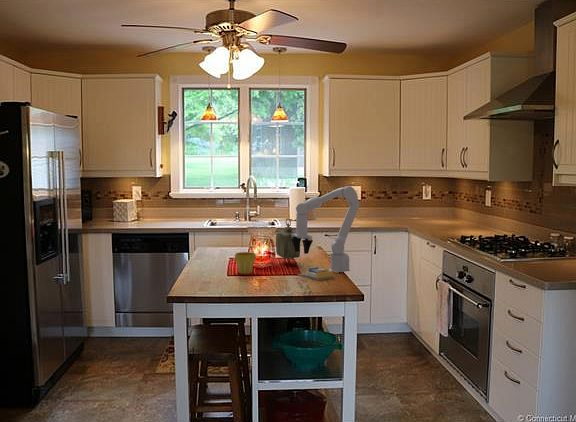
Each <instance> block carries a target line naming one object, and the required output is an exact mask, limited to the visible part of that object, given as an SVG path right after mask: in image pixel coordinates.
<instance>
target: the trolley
mask: <svg viewBox="0 0 576 422" xmlns="http://www.w3.org/2000/svg"><path fill="white" fill-rule="evenodd" d="M306 269H307V271H308V272H314V273H316V274H317V273H320V272H326V271H328V269H329V268H319V266H318V265H316V266H310V267H309V266H308V267H307V268H306ZM307 271H306V272H307Z"/></svg>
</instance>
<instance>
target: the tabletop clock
mask: <svg viewBox="0 0 576 422" xmlns="http://www.w3.org/2000/svg"><path fill="white" fill-rule="evenodd" d="M287 221H289V223H287ZM291 221H292V220H291V219H290V218H286V219H285V225H286V227H284V228H283V230H281V231H278V232H276V234H275V250H276V251H275V252H276V255H278V256H279V257H281V258H283V261H282V264H284V265H285V264H287V263H286V262H290V261H291V259H292V260H293V264H294V266H297V265H298V262H297V261H296V260H295V259H296V258H297V259H298V258H299V257H301V256H300V255H301V248H300V249H299V252H295V249H294V245H293V242H292V241H291V238H293V237H292V233H296V230H294V229H293V228H292V227H291V224H292V222H291Z"/></svg>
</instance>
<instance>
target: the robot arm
mask: <svg viewBox="0 0 576 422" xmlns="http://www.w3.org/2000/svg"><path fill="white" fill-rule="evenodd" d="M336 198H344V199H345V200H346V201H347V203H348V208H347V212H346V214H345V216H344V219H343V221H342V224H341V226H340V229H339V231H338V233H337V236H336V237H335V239H334V240H333V241H332V242H331V252H330V268H327V269H328V271H333V273H336V274H339V272H340V273H344V272H346V273H347V272H351V269H350V257H349V254H348V253H346V252H345V243H346V240H347V238H348V235H349V233H350V230H351V228H352V225H353V222H354V220H355V218H356V215H357V213H358V210H359V208H360V202H359V197H358V193H357V190H355V188H354V187H353V186H350V185H346V186H344V187H339V188H336V189H335V190H332V191H330V192H327V193H326V194H324V195H322V196H320V197H319V196H318V195H316V196H314V195H313V196H311V198H309V199H307V200H302V202H299V203H298V204H297V205H296V206H295V211H296V214H295V215H296V217H295V224H296V225H295V227H296V228H295V231H296V233H292V237H293V238H291V241H292V242H293V245H294V249H295V252H299V249H300V250H301V242H302V245H303V253H304V255H305V254H306V255H307V254H309V252H310V248H311V246H312V244H313V241H314V240H313V236H312V235H309V234H308V213H307V212H312V211H313V210H315V209H318V208H320V207H322V204H323V203H326V202H327V201H329V200H333V199H336Z"/></svg>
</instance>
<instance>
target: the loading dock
mask: <svg viewBox="0 0 576 422" xmlns="http://www.w3.org/2000/svg"><path fill="white" fill-rule="evenodd" d="M297 276H300V277H303V278H307V279H311V280H315V281H322V280H330V279H334V278H335V277H334V272H333V271H326V272H320V273H317V274H316V273H314V272H308V271H306V272H305V273H299V274H297Z"/></svg>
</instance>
